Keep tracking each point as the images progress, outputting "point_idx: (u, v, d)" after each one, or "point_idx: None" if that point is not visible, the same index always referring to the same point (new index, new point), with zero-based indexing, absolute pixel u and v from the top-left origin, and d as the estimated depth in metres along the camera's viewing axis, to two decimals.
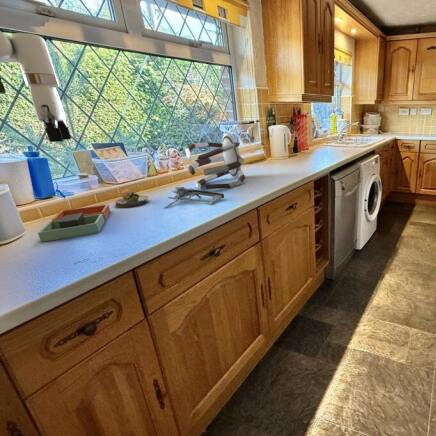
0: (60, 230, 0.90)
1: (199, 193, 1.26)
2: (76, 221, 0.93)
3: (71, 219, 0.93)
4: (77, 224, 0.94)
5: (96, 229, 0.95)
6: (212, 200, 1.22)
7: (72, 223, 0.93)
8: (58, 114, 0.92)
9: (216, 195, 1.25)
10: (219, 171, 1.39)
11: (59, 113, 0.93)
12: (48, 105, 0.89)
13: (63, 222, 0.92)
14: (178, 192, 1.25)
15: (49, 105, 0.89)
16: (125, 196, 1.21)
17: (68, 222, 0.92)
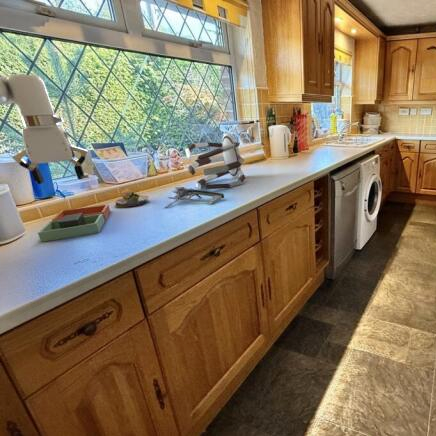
0: (60, 230, 0.90)
1: (199, 193, 1.26)
2: (76, 221, 0.93)
3: (71, 219, 0.93)
4: (77, 224, 0.94)
5: (96, 229, 0.95)
6: (212, 200, 1.22)
7: (72, 223, 0.93)
8: (35, 157, 0.87)
9: (216, 195, 1.25)
10: (219, 171, 1.39)
11: (40, 156, 0.87)
12: None
13: (63, 222, 0.92)
14: (178, 192, 1.25)
15: (25, 148, 0.86)
16: (125, 196, 1.21)
17: (68, 222, 0.92)
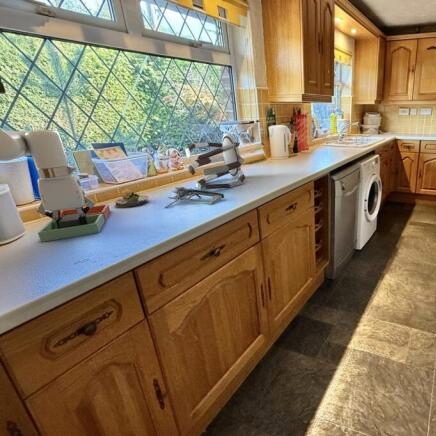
0: (60, 230, 0.90)
1: (199, 193, 1.26)
2: (76, 221, 0.93)
3: (71, 219, 0.93)
4: (77, 224, 0.94)
5: (96, 229, 0.95)
6: (212, 200, 1.22)
7: (72, 223, 0.93)
8: (50, 205, 0.90)
9: (216, 195, 1.25)
10: (219, 171, 1.39)
11: (54, 204, 0.91)
12: None
13: (63, 222, 0.92)
14: (178, 192, 1.25)
15: None
16: (125, 196, 1.21)
17: (68, 222, 0.92)
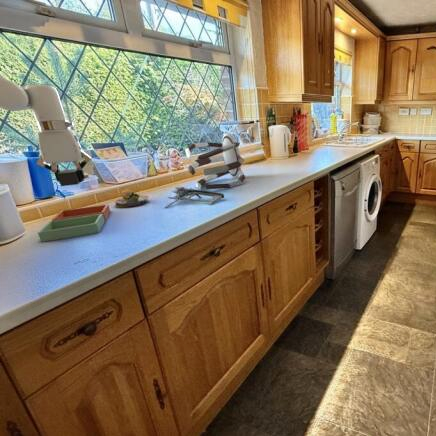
0: (60, 230, 0.90)
1: (199, 193, 1.26)
2: (73, 173, 1.00)
3: (69, 172, 1.00)
4: (74, 176, 1.00)
5: (96, 229, 0.95)
6: (212, 200, 1.22)
7: (70, 175, 0.99)
8: (49, 158, 0.97)
9: (216, 195, 1.25)
10: (219, 171, 1.39)
11: (52, 156, 0.97)
12: None
13: (61, 174, 0.98)
14: (178, 192, 1.25)
15: (40, 150, 0.96)
16: (125, 196, 1.21)
17: (66, 174, 0.99)
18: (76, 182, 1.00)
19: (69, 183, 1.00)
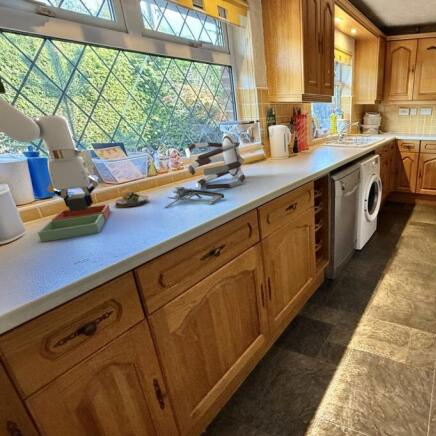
0: (60, 230, 0.90)
1: (199, 193, 1.26)
2: (82, 199, 1.03)
3: (77, 197, 1.03)
4: (83, 202, 1.03)
5: (96, 229, 0.95)
6: (212, 200, 1.22)
7: (78, 201, 1.03)
8: (58, 184, 1.00)
9: (216, 195, 1.25)
10: (219, 171, 1.39)
11: (62, 183, 1.00)
12: None
13: (70, 200, 1.01)
14: (178, 192, 1.25)
15: None
16: (125, 196, 1.21)
17: (75, 200, 1.02)
18: (85, 207, 1.04)
19: (78, 208, 1.03)
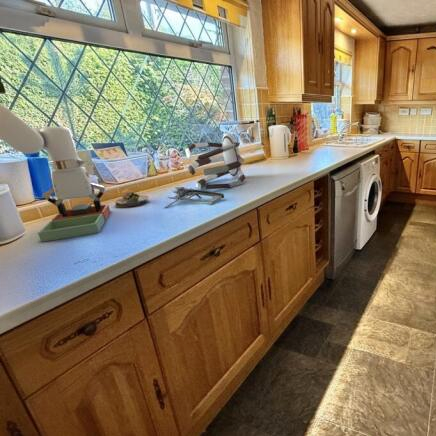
0: (60, 230, 0.90)
1: (199, 193, 1.26)
2: (85, 210, 1.04)
3: (81, 208, 1.04)
4: (86, 212, 1.04)
5: (96, 229, 0.95)
6: (212, 200, 1.22)
7: (82, 212, 1.04)
8: (61, 194, 1.01)
9: (216, 195, 1.25)
10: (219, 171, 1.39)
11: (65, 193, 1.01)
12: None
13: (74, 210, 1.03)
14: (178, 192, 1.25)
15: None
16: (125, 196, 1.21)
17: (78, 211, 1.03)
18: None
19: None
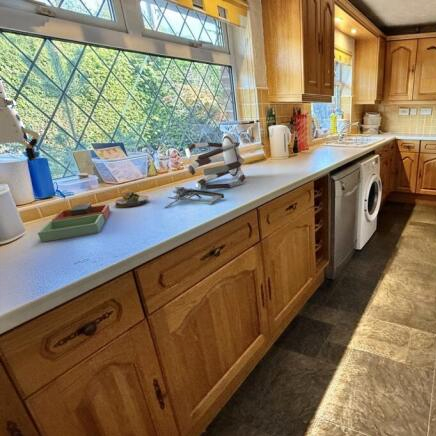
0: (60, 230, 0.90)
1: (199, 193, 1.26)
2: (85, 210, 1.04)
3: (81, 208, 1.04)
4: (86, 212, 1.04)
5: (96, 229, 0.95)
6: (212, 200, 1.22)
7: (82, 212, 1.04)
8: None
9: (216, 195, 1.25)
10: (219, 171, 1.39)
11: None
12: None
13: (74, 210, 1.03)
14: (178, 192, 1.25)
15: None
16: (125, 196, 1.21)
17: (78, 211, 1.03)
18: None
19: None
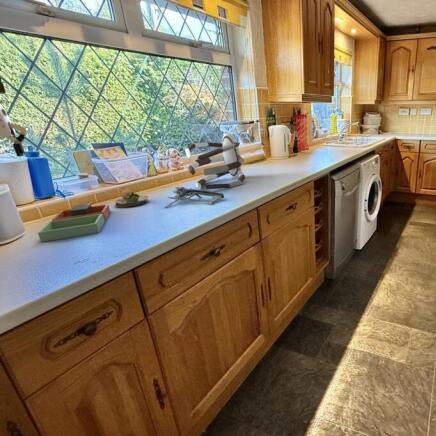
0: (60, 230, 0.90)
1: (199, 193, 1.26)
2: (85, 210, 1.04)
3: (81, 208, 1.04)
4: (86, 212, 1.04)
5: (96, 229, 0.95)
6: (212, 200, 1.22)
7: (82, 212, 1.04)
8: None
9: (216, 195, 1.25)
10: (219, 171, 1.39)
11: None
12: None
13: (74, 210, 1.03)
14: (178, 192, 1.25)
15: None
16: (125, 196, 1.21)
17: (78, 211, 1.03)
18: None
19: None
